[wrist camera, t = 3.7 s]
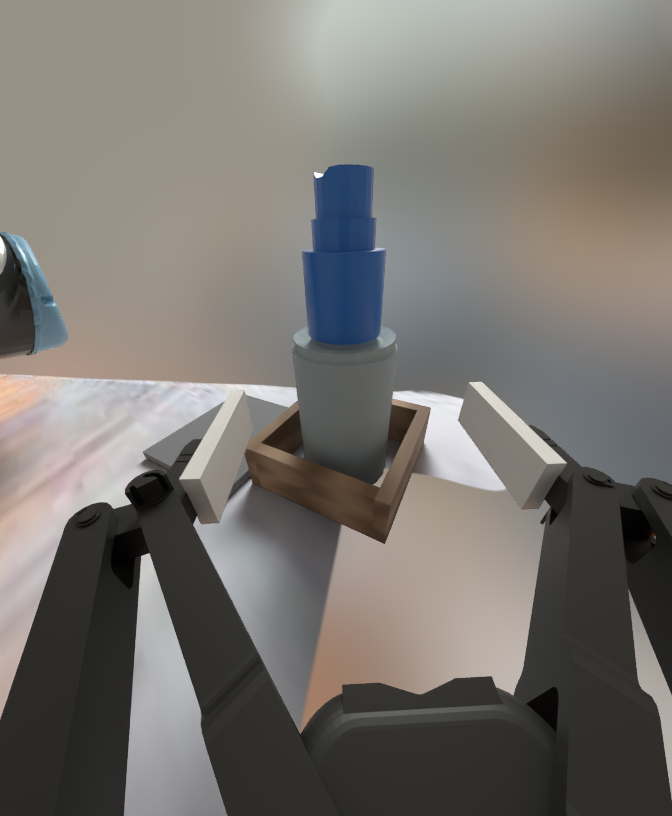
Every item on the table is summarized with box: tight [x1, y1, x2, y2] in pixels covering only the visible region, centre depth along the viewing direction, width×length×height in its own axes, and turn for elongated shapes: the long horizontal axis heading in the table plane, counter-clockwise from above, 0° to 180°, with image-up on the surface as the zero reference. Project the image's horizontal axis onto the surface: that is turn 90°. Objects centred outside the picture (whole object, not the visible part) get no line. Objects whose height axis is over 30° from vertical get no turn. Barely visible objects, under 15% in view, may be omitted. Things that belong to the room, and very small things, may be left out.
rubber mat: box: [143, 395, 288, 498], centre depth 34 cm, size 13×15×1 cm
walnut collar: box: [244, 399, 431, 544], centre depth 29 cm, size 14×14×5 cm
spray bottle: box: [292, 165, 398, 485], centre depth 23 cm, size 9×9×25 cm
